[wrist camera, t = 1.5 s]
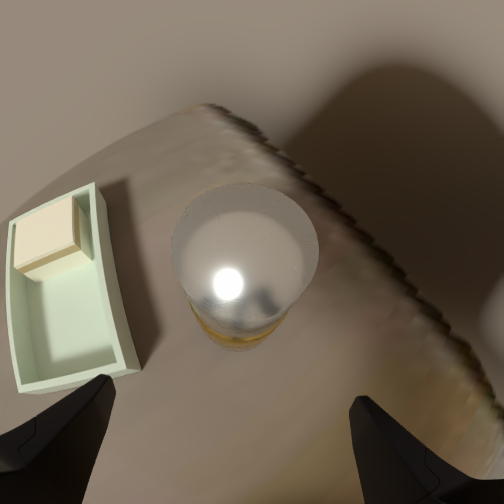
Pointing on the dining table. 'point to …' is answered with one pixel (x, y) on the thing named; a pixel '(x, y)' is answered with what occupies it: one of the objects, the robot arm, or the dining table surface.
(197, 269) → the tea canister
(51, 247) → the butter box
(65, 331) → the tote
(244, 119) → the dining table surface
